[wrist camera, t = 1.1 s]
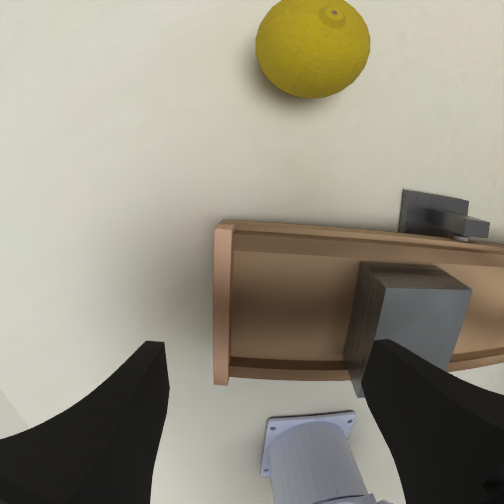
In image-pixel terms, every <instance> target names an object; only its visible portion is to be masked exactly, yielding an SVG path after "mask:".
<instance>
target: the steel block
mask: <svg viewBox="0 0 504 504" xmlns="http://www.w3.org/2000/svg"><path fill="white" fill-rule="evenodd" d="M472 291H473V290H472V289H471V288H469V287H468V286H466V285H465V284H463V283H462V282H461V281H459V280H458V279H456V278H455V277H453V276H451V275H450V274H448V273H447V272H445V271H444V270H442V269H441V268H439V267H438V266H436V265H421V264H405V263H388V262H372V261H360V264H359V271H358V277H357V283H356V289H355V295H354V300H353V306H352V311H351V316H350V321H349V326H348V331H347V336H346V340H345V345H344V349H343V354H342V357H343V359H344V362H345V365H346V368H347V370H348V373H349V376H350V379H351V381H352V384H353V387H354V390H355V393H356V396H357V398H362V397H365V396H364V392H363V389H362V386H361V381H362V378H363V375H364V372H365V369H366V366H367V363H368V359H369V356H370V353H371V350H372V346H373V343H374V340H382V339H390V340H392V341H394V342H396V343H398V344H400V345H401V346H403V347H405V348H406V349H408V350H410V351H411V352H413V353H415V354H416V355H418V356H420V357H421V358H423V359H425V360H426V361H428V362H430V363H431V364H433V365H435V366H437V367H438V368H440V369H442V370H444V371H446V369H447V366H448V364H449V361H450V359H451V356H452V354H453V351H454V348H455V346H456V343H457V340H458V337H459V334H460V331H461V328H462V325H463V322H464V319H465V316H466V312H467V309H468V305H469V302H470V298H471V295H472Z"/></svg>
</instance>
